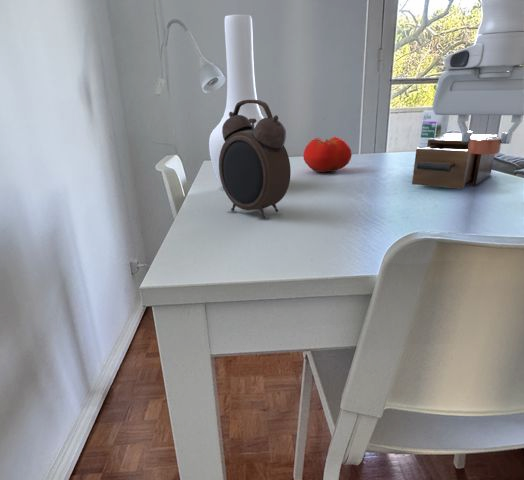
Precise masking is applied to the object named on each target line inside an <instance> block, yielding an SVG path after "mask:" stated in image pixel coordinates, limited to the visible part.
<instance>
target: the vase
mask: <svg viewBox="0 0 524 480" xmlns="http://www.w3.org/2000/svg"><path fill="white" fill-rule="evenodd" d="M252 18H253V17H252V15H250V14H230V15H225V16H224V38H225V39H224V40H225V59H226V88H227V89H226V103H225V109H224V113H223V116H222V118H221V120H220V122H219V123H218V124H217V125H216V126H215V127H214V128H213V130H212V131H211V132H210V135H209V139H208V148H209V149H208V151H209V156H210V157H209V158H210V161H211V165H212V169H213V171H214V174H215V177H216V179H217V181H218V182H219V184H220V186H221V187H222V188H223V186H222V183H221V179H220V174H219V157H220V152H221V149H222V146H223V144H224V142H225V141H224V138H223V134H222V127H223V124H224V123H225V121H226V120H227V119H229V118H230V116H229V112H232V113H233V112H234V109H235V106H236V104H237V103H238V102H241V101H243V100H258V96H257V89H256V80H255V66H254V65H255V62H254V43H253V42H254V36H253V35H254V33H253V31H254V30H253V19H252ZM238 115H243V116H245V117H247V118H248V120H249V119H250V118H251V119H256V123H254V128H255V126H256V125H257V123H258V122H259V121H260V120H261V119H264V118H265V117H264V116H263V115H262V112H261V109H260V105H258V104H255V103H246V104H244V105H242V106H241V107H240V110H239V112H238ZM251 124H252V123H251Z"/></svg>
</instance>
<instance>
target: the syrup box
mask: <svg viewBox="0 0 524 480" xmlns="http://www.w3.org/2000/svg"><path fill="white" fill-rule="evenodd" d="M449 118H450V115H436V114H435V113H434V111H433V109H425V110H423V111H422V115H421V122H420V123H421V124H420V133H419V141H418V148H425V147H427V144H428V139H432V138H435V137H438V136H441V135H444V134H448V133H447V132H448V131H447V130H448V126H449Z"/></svg>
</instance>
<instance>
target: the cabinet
mask: <svg viewBox="0 0 524 480" xmlns="http://www.w3.org/2000/svg"><path fill="white" fill-rule="evenodd" d="M461 135H462V133H446V134H444V135H441V136H438V137H435V138H432V139H428V144H427V147H428V146H431V145H434V144H462V145H468V144H469V142H461ZM471 137H499V134H477V133H476V134H474V133H472V136H471ZM495 155H496V154H478V156H477V161H476V166H475V172H474V177H473V179H472V180H470V181H468V182H467V183H465V184H464V186H471V187H472V186H474V187H476V186H477V185H479V184H480V183H482V182H483V181H485V180H486V179H488V178H489V177H491V173H492V169H493V164H494V159H495Z"/></svg>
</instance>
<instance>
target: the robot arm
mask: <svg viewBox="0 0 524 480" xmlns="http://www.w3.org/2000/svg"><path fill="white" fill-rule="evenodd" d="M479 23H480V24H479V27H478V28H477V32H476V36H475V42H474V44H472V45H470V46H467V47H464V48H462V49H460V50H457V51H455V52H452V53H449V54H447V55H446V56H445V57H444V61H443V67H444V69H446V70H445V71H443V72H442V73H441V74H440V76H439V78H438V80H437V83H436V87H435V91H434V95H433V101H432V110H433V111H434V113H435V114H436V115H449V116H457V125H458V128H459V130H460V132H461V134H462V135H461V142H469V138H471V136H472V134H473V131H472V130H469V129H468V126H467V123H466V122H468V121H469V117H470V116H511V123H513V124H512V126H510V128H509V129H508V131H503V132H502V133H501V135H500V138H502V139H501V141H500V143H501V144H503V145H509V144H511V143H512V138H513V134H514V133H515V131H516V130H517V128H519V126H520V125H521V124H522V122H523V119H524V0H481V19H480V22H479Z"/></svg>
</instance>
